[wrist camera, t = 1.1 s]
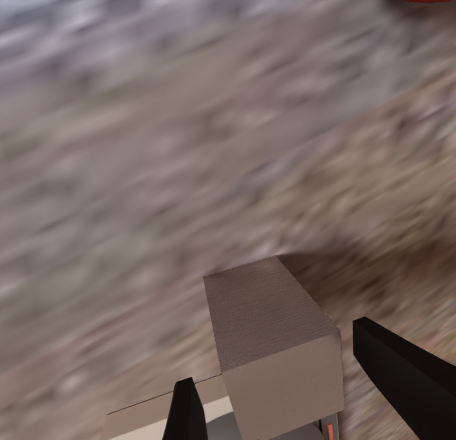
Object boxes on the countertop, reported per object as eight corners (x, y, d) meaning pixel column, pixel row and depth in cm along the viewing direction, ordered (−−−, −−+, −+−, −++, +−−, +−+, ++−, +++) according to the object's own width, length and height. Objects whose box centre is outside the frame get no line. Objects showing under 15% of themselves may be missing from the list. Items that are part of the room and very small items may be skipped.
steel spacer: (219, 334, 15) (245, 448, 9) (202, 276, 13) (221, 372, 8) (284, 312, 15) (344, 409, 10) (275, 255, 14) (340, 330, 8)
